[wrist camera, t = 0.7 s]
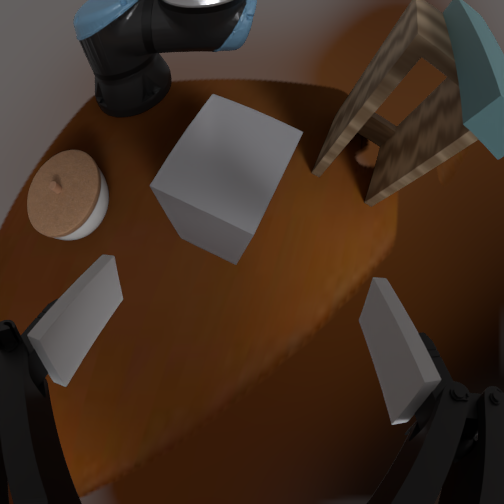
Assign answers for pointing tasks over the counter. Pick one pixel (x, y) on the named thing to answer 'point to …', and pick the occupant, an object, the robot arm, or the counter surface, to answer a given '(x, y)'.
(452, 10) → the teal block
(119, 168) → the counter surface
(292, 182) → the counter surface
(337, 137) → the wooden stool frame
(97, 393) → the counter surface
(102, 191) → the lidded bowl
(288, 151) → the stone block
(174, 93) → the counter surface
